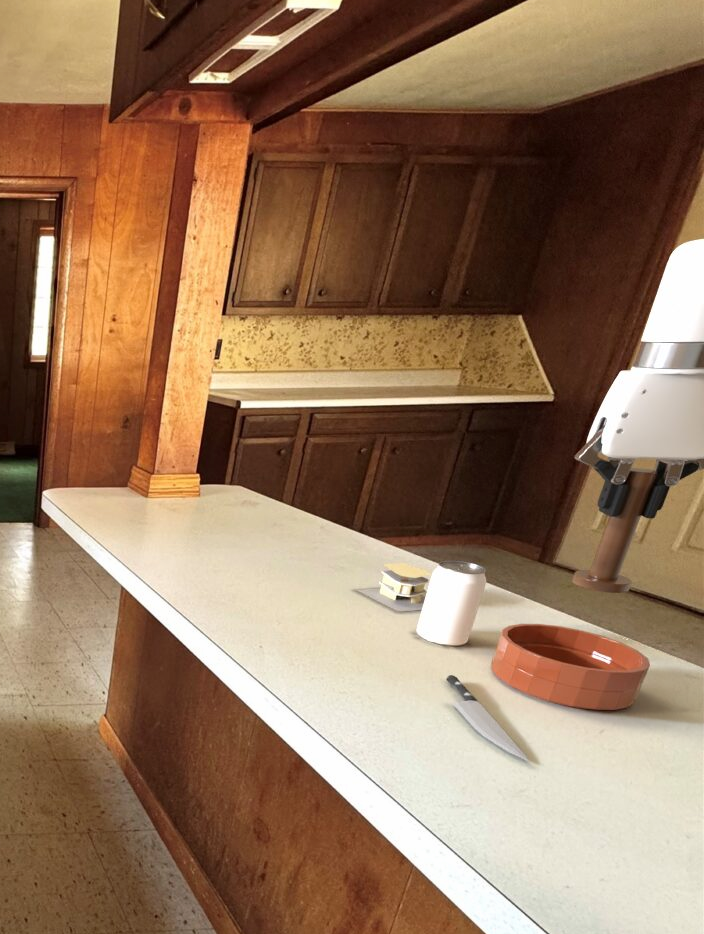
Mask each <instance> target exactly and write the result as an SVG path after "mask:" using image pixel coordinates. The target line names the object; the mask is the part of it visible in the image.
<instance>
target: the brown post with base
mask: <svg viewBox="0 0 704 934" xmlns="http://www.w3.org/2000/svg"><path fill="white" fill-rule="evenodd" d="M656 475H657V471H655V470H654V469H650V468H649V469H648V468H642V467H641V468H639V467H631V470H630V472H629V474H628V476H627V479H626V482H625V484H626V485H629V490H628V493H627V496H626V498H625V501H624V504H623V507H622V509H621V512H620V515H619V516H617V517H610V516H608V518H607V522H606V525H605V528H604V531H603V533H602V536H601V539H600V542H599V543H598V547H597V549H596V553H595V556H594V559H593V561H592V564H591V567H590V569H580V570H576V571H574V573H573V576H572V579H571V582H572V584H574V585H576V586H578V587H581V588H584V589H586V590H591V591H596V592H602V593H612V594H623V593H628V592H629V591H630V589H631V586H632V583H633V580H631V579H630V577H627V576H624V575H621V574H620V573H621V570H622V568H623V565H624V563H625V560H626V557H627V554H628V551H629V550H630V547H631V545H632V541H633V539H634V536H635V533H636V530H637V528H638V525H639V523H640V520H641V517H642V516H641V515H642V512H643V509H644V507H645V504H646V501H647V499H648V496H649V493H650V491H651V488H652V485H653V483H654V480H655V477H656Z"/></svg>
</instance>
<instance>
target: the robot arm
mask: <svg viewBox="0 0 704 934" xmlns="http://www.w3.org/2000/svg"><path fill="white" fill-rule="evenodd" d="M599 453H600V454H602V455H604V456H606V457H608V458H607V460H606V459H603V458H601V457H600V456H599ZM574 459H575V460H576V461H578V462H580V463H582V464H584V465H587V466H589V467H591V468H592V469H594V470H595V472H596V473H598V475H599V476H600V477H601V479H602V480H604V482H603V486H602V488H601V491H600V494H599V496H598V500H597V507H598V511H599V512H600V513H602V514H604V515H606V516H608V517H609V516H610V517H617V516H619V515H620V512H621V509H622V507H623V504H624V501H625V498H626V496H627V493H628V490H629V485H626V484H625V482H626V479H627V476H628V474H629V472H630V470H631V468H633V465H634V463H635V460H655V463H654V467H653V470H655V471H657V475H656V477H655V480H654V483H653V485H652V488H651V491H650V493H649V496H648V499H647V501H646V504H645V507H644V509H643V512H642V515H641V517H643V518H645V519H651V520H652V519H655V518H656V516H657V513H658V512H659V511H661V510H662V509H663V507H664V504H665V502H666V499H667V496H668V494H669V491H670V488H671V487H674V486H676V485H678V484H679V482H680V481H681V480H683V479H685V478H687V477H688V476H690V475H692V474H694V473H696V472H697V471H702V470H704V238H700V239H695V240H690V241H686V242H684V243H682V244H680V245H679V246H677V247H676V248H675V249H674V250H673V251H672V253H671V254H670V256H669V259H668V261H667V262H666V266H665V269H664V271H663V274H662V278H661V281H660V283H659V287H658V289H657V293H656V296H655V297H654V300H653V303H652V307H651V310H650V313H649V316H648V319H647V322H646V324H645V328H644V330H643V334H642V337H641V340H640V342H639V345H638V348H637V351H636V354H635V356H634V359H633V363H632V366H631V368H630V370H629V369H628V370H627V369H625V370H621V371H619V373H618V375H617V376H616V378H615V379H614V381H613V383H612V384H611V386H610V388H609V390H608V391H607V393H606V395H605V397H604V399H603V401H602V402H601V405H600V407H599V409H598V411H597V413H596V416H595V417H594V420H593V423H592V425H591V427H590V430H589V433H588V436H587V439H586V443H585V444H584V445H583V446H582V447H581V448H580V450H578V452H576V454H575V455H574Z"/></svg>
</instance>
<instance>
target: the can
mask: <svg viewBox="0 0 704 934" xmlns="http://www.w3.org/2000/svg"><path fill="white" fill-rule="evenodd" d="M486 572H487V570H486V568H485V567H483V566H481V565H479V564H475V563H471V562H467V561H460V560H441V561H439V562H438V566H437V567H436V568H435V569H434V570H433V572H432V574H431V576H430V581H429V584H428V588H427V591H426V593H425V597H424V598H425V601H424V605H423V608H422V610H421V612H420V615H419V620H418V623H417V627H416V633H417V635H418V636H419V637H420V638H421V639H423V640H425V641H427V642H430V643H433V644H437V645H440V646H447V647H457V646H458V647H460V646H463V645H465V644H466V643H468V641H469V638H470V636H471V632H472V629H473V626H474V623H475V620H476V617H477V614H478V610H479V607H480V605H481V601H482V598H483V594H484V592H485V588H486V585H487V576H486V574H485V573H486Z"/></svg>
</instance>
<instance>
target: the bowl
mask: <svg viewBox="0 0 704 934" xmlns="http://www.w3.org/2000/svg"><path fill="white" fill-rule="evenodd" d="M650 666H651V664H650V661H649V658H648V657H647V656H645V654H643V653H641V651H639V650H637V649H635V648H633V647H632V646H630V645H628V644H625V643H623V642H621V641H618V640H616V639H613V638H610V637H607V636H603V635H601V634H597V633H594V632H589V631H585V630H582V629H577V628H573V627H566V626H561V625H553V624H545V623H518V624H517V623H516V624H512V625H508V626H506V627H504V628H503V629H502V630H501V633H500V635H499V639H498V642H497V645H496V648H495V650H494V654H493V657H492V659H491V663H490V670H491V672H493V674H494V675H495V676H496V677H497V678H498V679H500V680H501V681H503V682H504V683H506V684H507V685H509V686H511V687H512V688H514V689H516V690H518V691H520V692H522V693H524V694H527V695H529V696H532V697H534V698H537V699H541V700H543V701H547V702H550V703H553V704H558V705H561V706H566V707H571V708H577V709H584V710H607V711H608V710H609V711H610V710H611V711H612V710H613V711H615V710H619V709H625V708H630V706H631V705H633V703H635V701H636V699H637V697H638V694H639V692H640V690H641V688H642V685H643V682H644V680H645V678H646V676H647V674H648V671H649V669H650Z"/></svg>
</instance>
